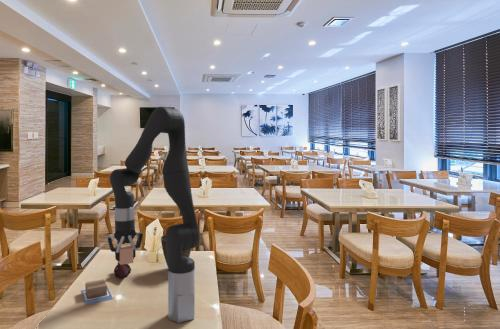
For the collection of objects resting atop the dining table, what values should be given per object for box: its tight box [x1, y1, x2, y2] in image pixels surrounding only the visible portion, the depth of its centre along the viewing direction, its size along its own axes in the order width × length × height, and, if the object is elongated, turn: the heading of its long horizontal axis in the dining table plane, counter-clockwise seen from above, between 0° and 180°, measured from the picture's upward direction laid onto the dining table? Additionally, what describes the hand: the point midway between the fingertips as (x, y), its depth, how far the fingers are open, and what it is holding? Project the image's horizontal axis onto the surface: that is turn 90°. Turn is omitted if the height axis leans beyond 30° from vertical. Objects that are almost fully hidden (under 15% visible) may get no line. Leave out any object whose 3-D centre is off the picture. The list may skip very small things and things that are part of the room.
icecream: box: [113, 261, 132, 279], centre depth 160 cm, size 7×7×15 cm
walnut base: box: [84, 278, 108, 299], centre depth 143 cm, size 7×7×4 cm
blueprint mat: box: [80, 286, 114, 306], centre depth 143 cm, size 14×10×1 cm
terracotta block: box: [119, 244, 134, 265], centre depth 145 cm, size 5×5×6 cm
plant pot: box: [160, 233, 192, 267], centre depth 170 cm, size 15×15×16 cm
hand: (125, 259), depth 145 cm, fingers closed on terracotta block, 5 cm apart
